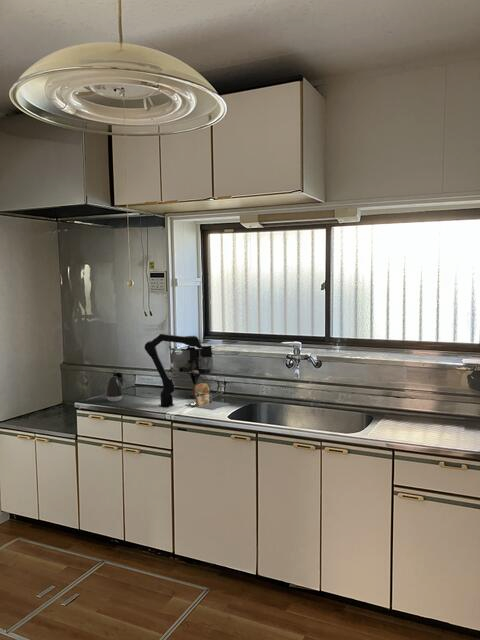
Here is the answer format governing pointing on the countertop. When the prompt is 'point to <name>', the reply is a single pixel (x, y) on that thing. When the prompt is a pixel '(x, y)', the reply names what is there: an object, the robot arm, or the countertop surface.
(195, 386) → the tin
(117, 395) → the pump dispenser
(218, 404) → the card
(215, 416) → the countertop surface
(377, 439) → the countertop surface
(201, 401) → the fence gate
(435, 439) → the countertop surface
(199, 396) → the fence fixed
